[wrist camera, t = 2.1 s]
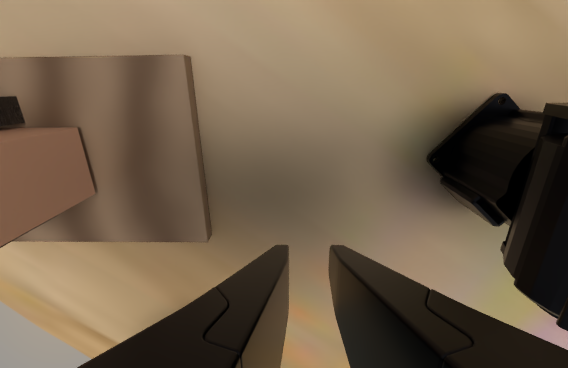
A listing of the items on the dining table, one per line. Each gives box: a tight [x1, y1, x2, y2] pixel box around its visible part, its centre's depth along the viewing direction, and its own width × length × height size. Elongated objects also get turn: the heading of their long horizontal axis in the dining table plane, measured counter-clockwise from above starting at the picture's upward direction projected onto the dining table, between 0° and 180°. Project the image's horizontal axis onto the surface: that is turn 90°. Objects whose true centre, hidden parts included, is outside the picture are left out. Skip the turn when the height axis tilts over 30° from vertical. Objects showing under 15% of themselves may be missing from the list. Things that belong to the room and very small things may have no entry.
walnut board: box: [0, 55, 212, 242], centre depth 21 cm, size 20×14×1 cm
